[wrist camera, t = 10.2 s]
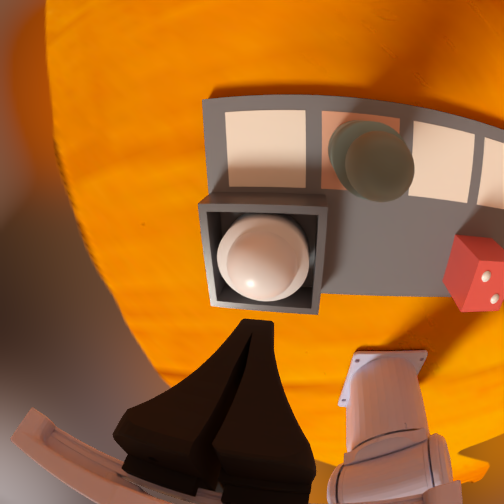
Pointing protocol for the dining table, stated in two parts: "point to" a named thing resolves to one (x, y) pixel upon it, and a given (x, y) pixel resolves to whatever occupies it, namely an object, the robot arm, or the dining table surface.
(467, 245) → the die
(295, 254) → the dome
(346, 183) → the pawn
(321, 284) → the board
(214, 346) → the dining table surface
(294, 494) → the robot arm
